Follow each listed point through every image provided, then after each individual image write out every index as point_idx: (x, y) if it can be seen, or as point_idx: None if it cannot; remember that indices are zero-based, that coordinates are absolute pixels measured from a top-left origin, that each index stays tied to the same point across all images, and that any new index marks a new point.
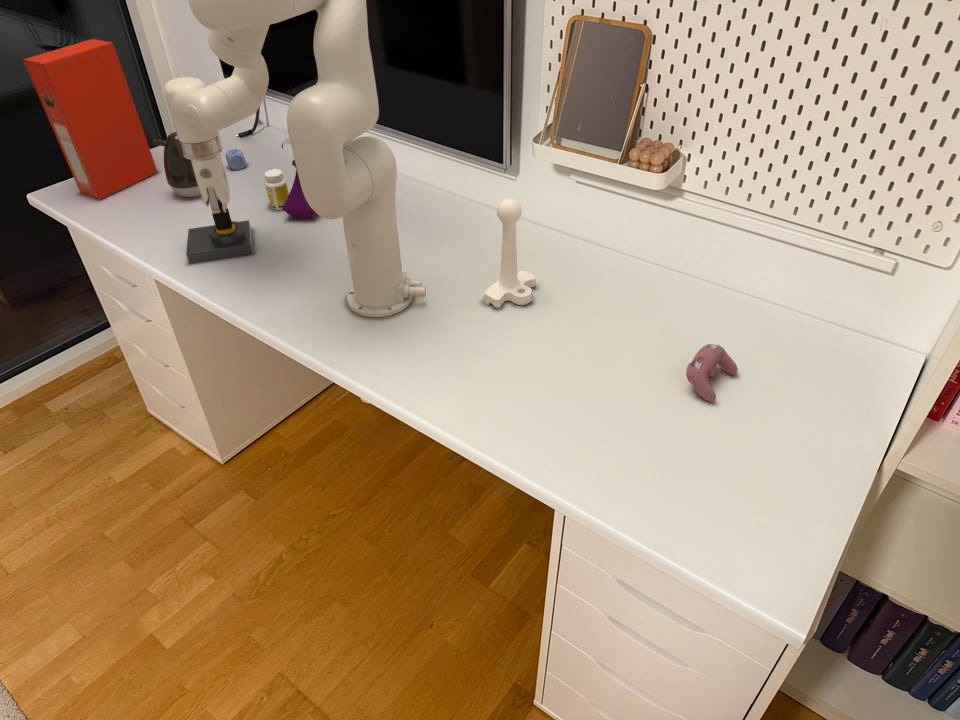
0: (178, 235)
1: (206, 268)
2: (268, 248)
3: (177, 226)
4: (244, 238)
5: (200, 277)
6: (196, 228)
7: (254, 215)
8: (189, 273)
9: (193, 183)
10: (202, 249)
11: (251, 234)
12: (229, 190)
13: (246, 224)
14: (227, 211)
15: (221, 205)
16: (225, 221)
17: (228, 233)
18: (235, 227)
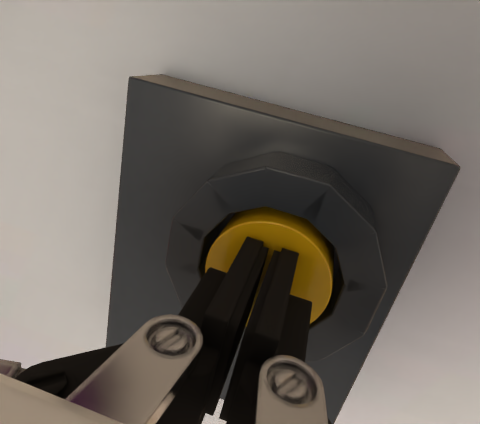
0: (87, 343)
1: (410, 365)
2: (436, 38)
3: (24, 323)
4: (353, 175)
5: (471, 407)
6: (113, 329)
7: (12, 13)
8: (401, 420)
9: None
10: (328, 382)
11: (228, 93)
12: (53, 417)
13: (177, 108)
14: (276, 343)
15: (188, 390)
16: (306, 328)
17: (332, 281)
18: (285, 222)
